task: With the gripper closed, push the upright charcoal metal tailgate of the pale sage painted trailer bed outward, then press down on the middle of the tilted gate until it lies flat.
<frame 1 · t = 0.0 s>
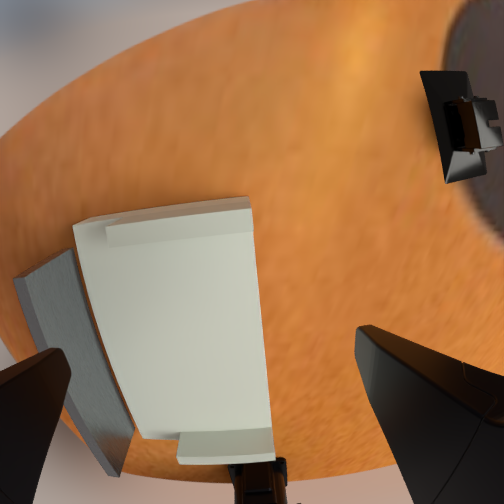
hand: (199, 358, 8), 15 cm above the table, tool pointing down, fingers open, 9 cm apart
trailer bed: (186, 331, 24), on the table
tailgate: (84, 375, 19), point 6 cm above the table, hinge at 0.0°
black blocky piece: (453, 126, 21), on the table
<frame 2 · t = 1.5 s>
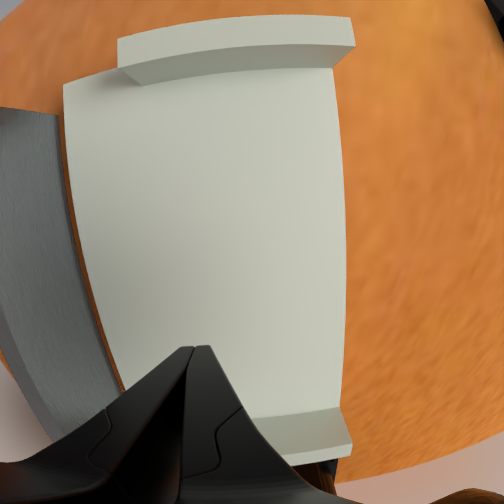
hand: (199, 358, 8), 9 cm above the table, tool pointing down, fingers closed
trailer bed: (217, 259, 17), on the table
tailgate: (49, 319, 11), point 6 cm above the table, hinge at 0.0°
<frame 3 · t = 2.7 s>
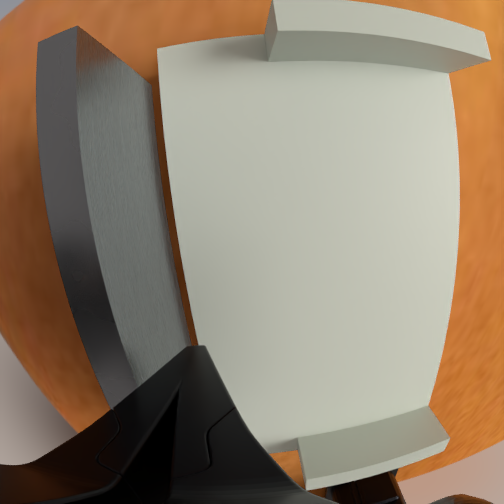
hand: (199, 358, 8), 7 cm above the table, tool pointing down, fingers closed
trailer bed: (321, 262, 15), on the table
tailgate: (153, 344, 9), point 6 cm above the table, hinge at 0.0°, touching gripper
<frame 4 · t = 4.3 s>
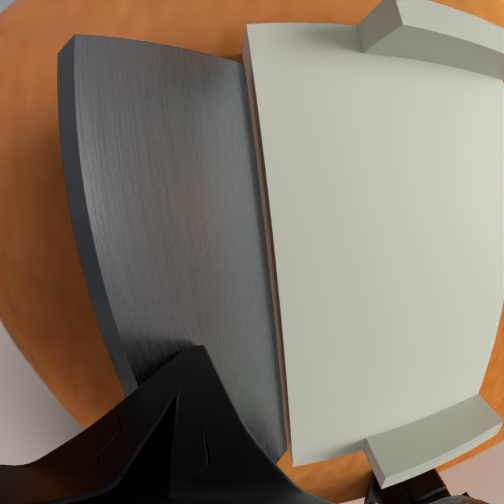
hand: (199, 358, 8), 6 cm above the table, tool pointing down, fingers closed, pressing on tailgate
trailer bed: (390, 258, 14), on the table
tailgate: (207, 341, 9), point 5 cm above the table, hinge at 39.4°, touching gripper
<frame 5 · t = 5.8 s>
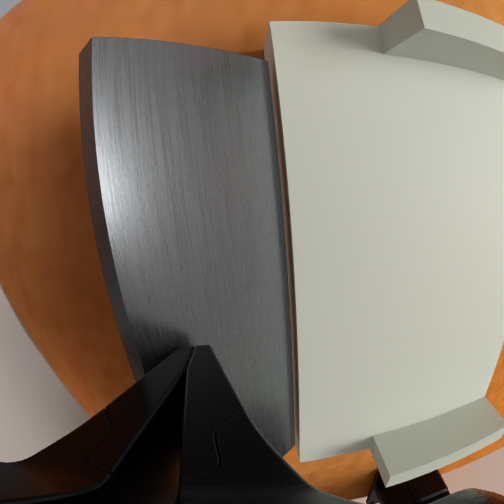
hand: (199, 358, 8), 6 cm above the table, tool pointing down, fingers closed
trailer bed: (404, 258, 14), on the table
tailgate: (219, 330, 10), point 5 cm above the table, hinge at 45.0°, touching gripper
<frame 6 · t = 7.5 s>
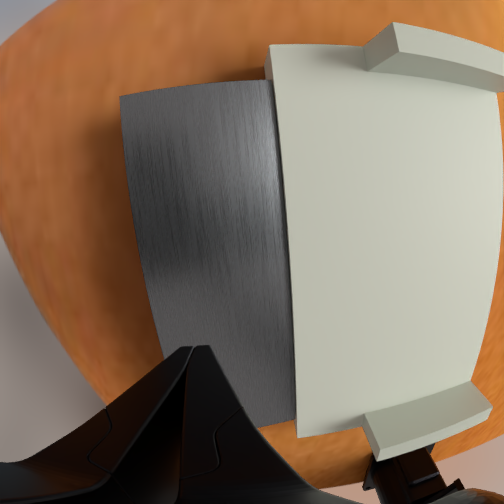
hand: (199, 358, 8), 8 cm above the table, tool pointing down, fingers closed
trailer bed: (389, 250, 16), on the table
tailgate: (219, 289, 14), point 3 cm above the table, hinge at 80.7°
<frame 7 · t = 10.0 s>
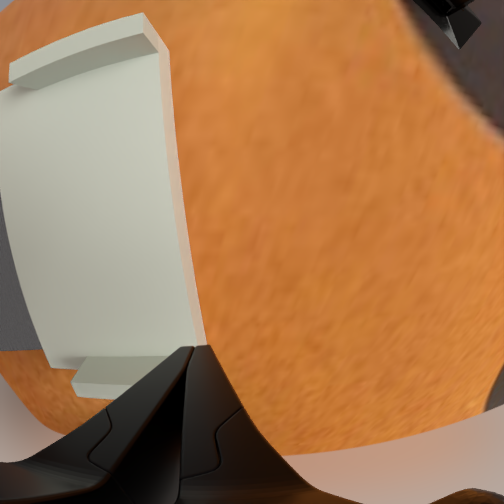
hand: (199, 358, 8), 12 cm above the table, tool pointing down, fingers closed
trailer bed: (97, 216, 19), on the table
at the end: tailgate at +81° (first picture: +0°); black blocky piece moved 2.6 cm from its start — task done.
